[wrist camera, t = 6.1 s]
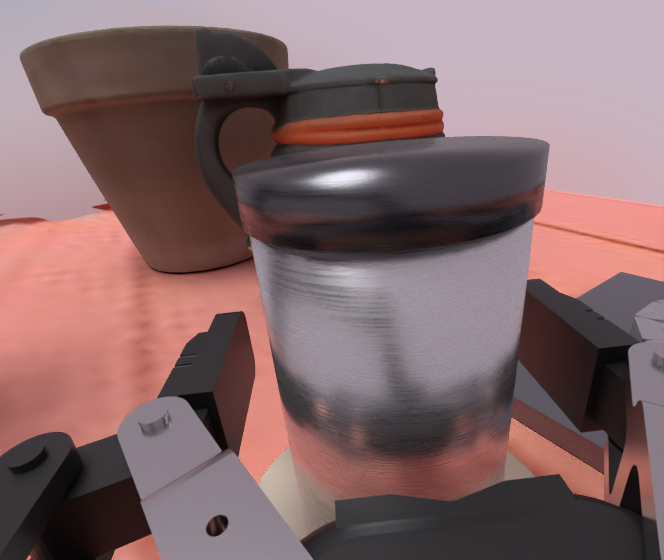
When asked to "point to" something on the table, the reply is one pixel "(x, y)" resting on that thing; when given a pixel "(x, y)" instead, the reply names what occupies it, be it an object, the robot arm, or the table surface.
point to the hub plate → (625, 312)
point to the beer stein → (303, 105)
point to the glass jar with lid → (395, 309)
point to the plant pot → (150, 135)
